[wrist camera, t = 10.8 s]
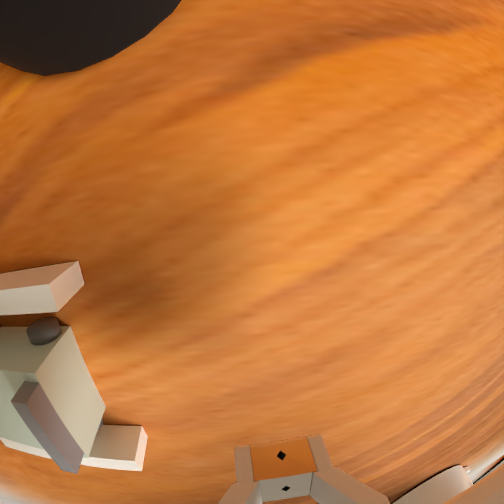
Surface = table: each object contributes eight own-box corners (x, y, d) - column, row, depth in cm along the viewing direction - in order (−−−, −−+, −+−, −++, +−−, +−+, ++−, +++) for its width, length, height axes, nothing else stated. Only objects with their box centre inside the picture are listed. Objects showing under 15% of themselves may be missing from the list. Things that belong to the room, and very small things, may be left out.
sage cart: (109, 411, 15) (87, 484, 10) (22, 401, 15) (-9, 455, 9) (68, 314, 13) (13, 382, 7) (-19, 317, 13) (-70, 363, 7)
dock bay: (147, 436, 16) (142, 471, 13) (19, 422, 15) (5, 446, 12) (78, 260, 12) (48, 283, 9) (-51, 282, 11) (-77, 299, 8)
